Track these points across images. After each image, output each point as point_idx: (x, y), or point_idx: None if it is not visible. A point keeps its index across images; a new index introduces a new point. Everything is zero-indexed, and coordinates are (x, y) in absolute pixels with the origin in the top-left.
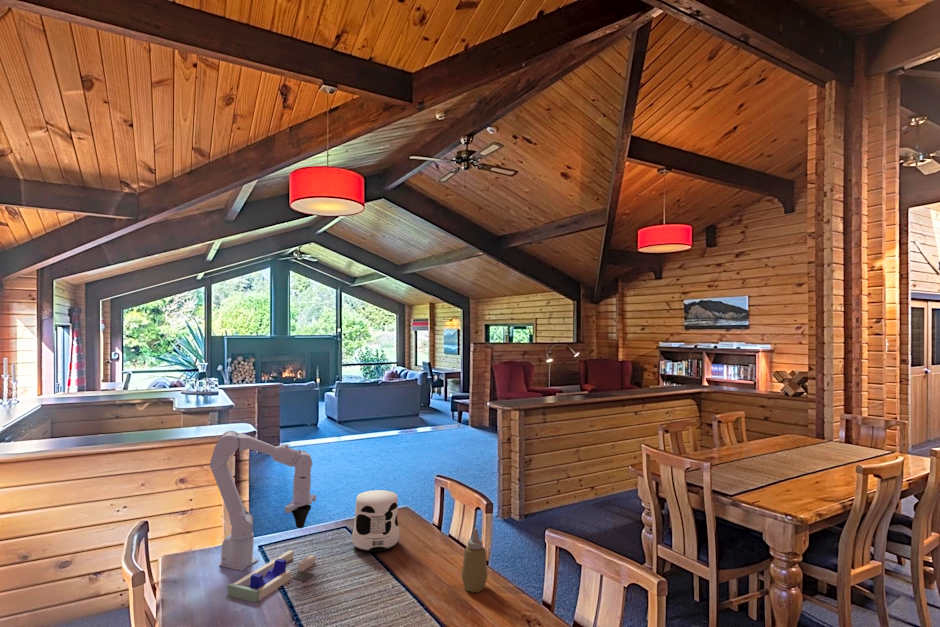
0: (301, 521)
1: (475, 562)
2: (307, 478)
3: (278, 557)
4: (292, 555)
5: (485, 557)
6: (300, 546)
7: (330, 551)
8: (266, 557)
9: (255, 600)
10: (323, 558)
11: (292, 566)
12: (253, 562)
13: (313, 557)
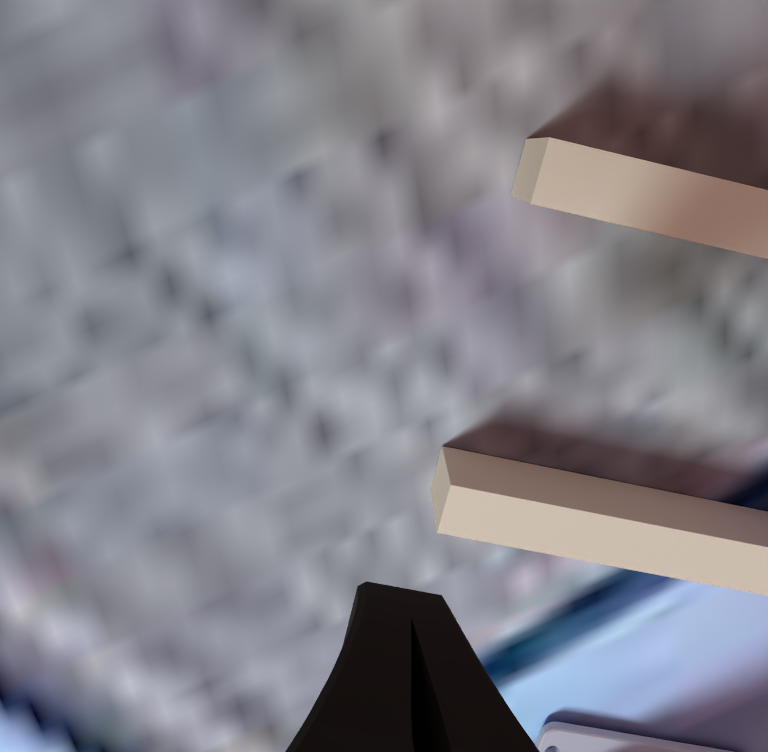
0: (510, 716)
1: None
2: None
3: (646, 563)
4: (459, 464)
5: None
6: (130, 502)
7: (157, 71)
8: None
9: None
10: (384, 79)
11: (637, 364)
12: (616, 737)
13: (586, 147)
